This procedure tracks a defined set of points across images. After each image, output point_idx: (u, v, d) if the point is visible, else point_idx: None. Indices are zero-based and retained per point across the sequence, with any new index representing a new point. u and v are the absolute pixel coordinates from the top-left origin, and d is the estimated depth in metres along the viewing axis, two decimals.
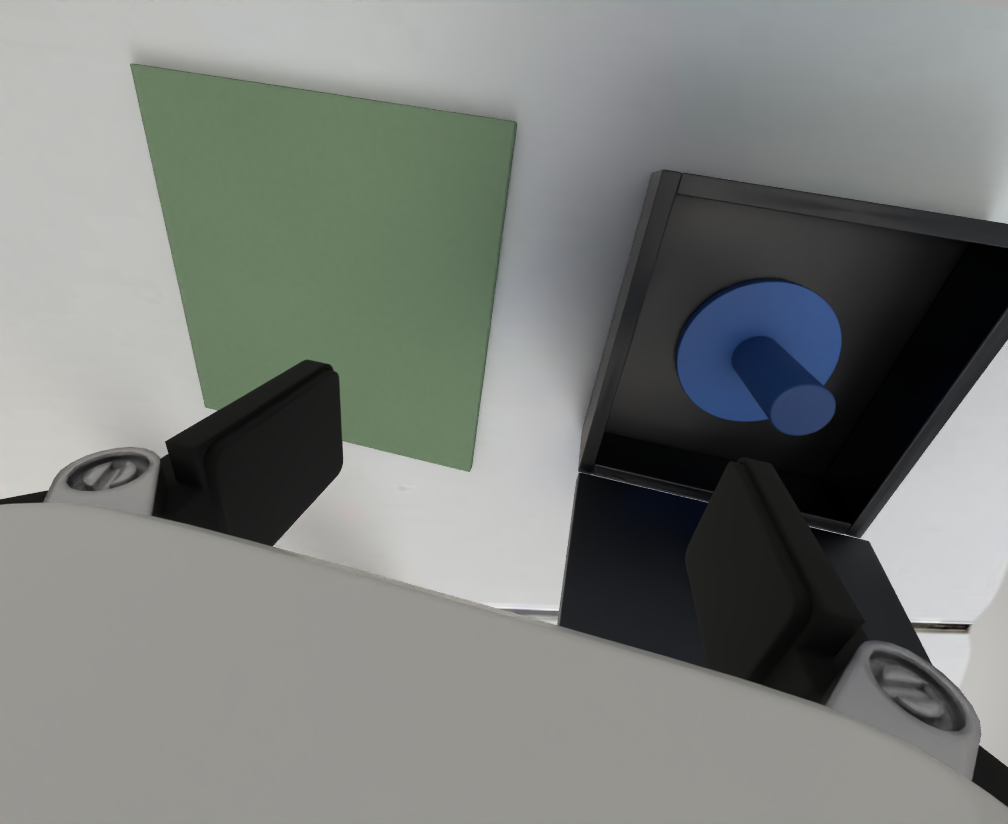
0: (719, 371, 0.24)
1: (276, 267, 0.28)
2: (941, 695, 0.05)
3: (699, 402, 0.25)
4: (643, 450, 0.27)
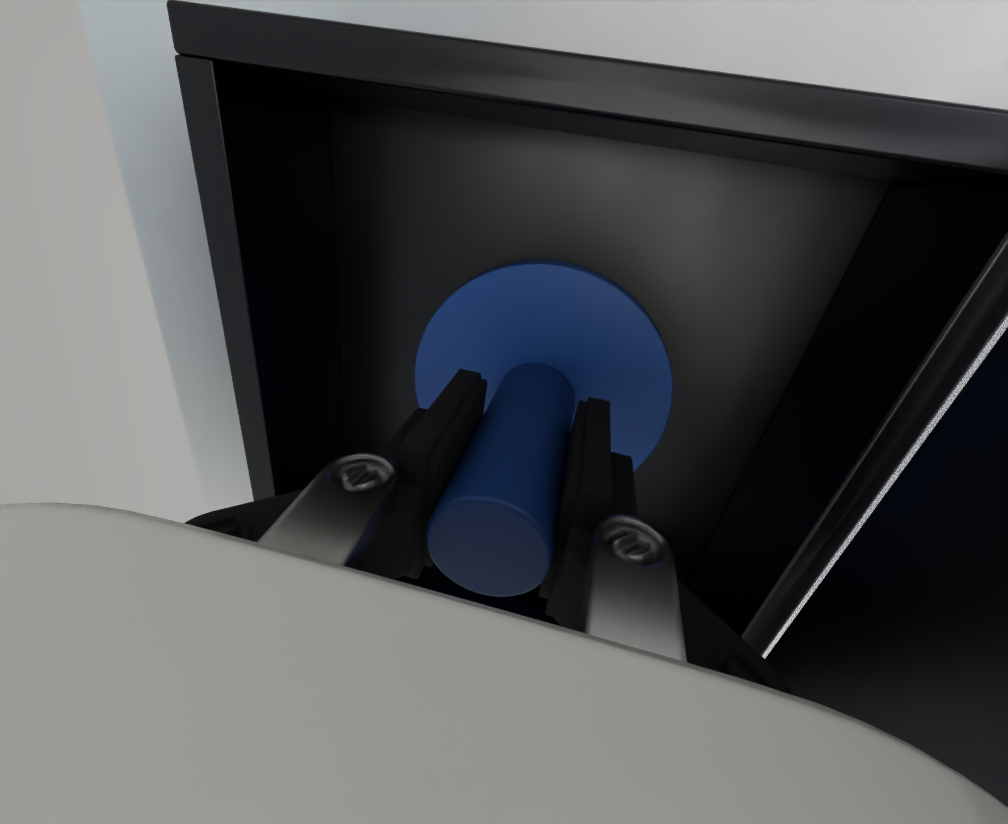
0: None
1: None
2: (647, 535, 0.07)
3: None
4: (721, 557, 0.14)
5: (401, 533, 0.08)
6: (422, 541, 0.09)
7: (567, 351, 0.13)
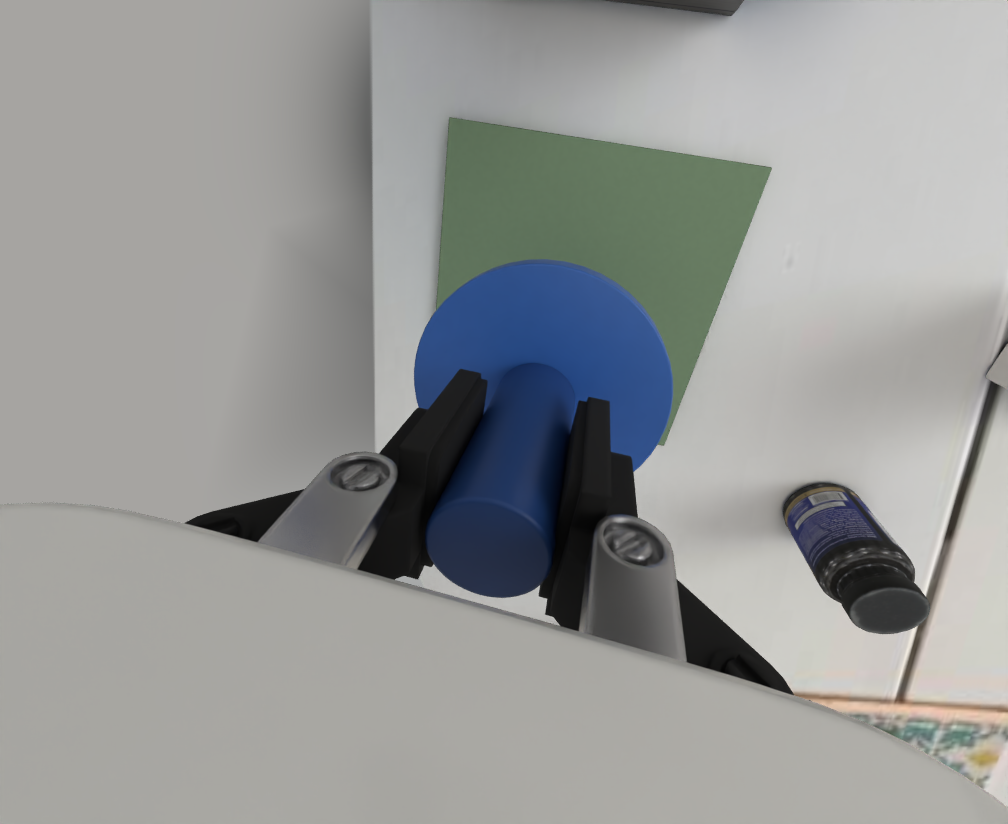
0: None
1: None
2: (647, 535, 0.07)
3: None
4: None
5: (401, 533, 0.08)
6: (422, 541, 0.09)
7: (567, 351, 0.13)
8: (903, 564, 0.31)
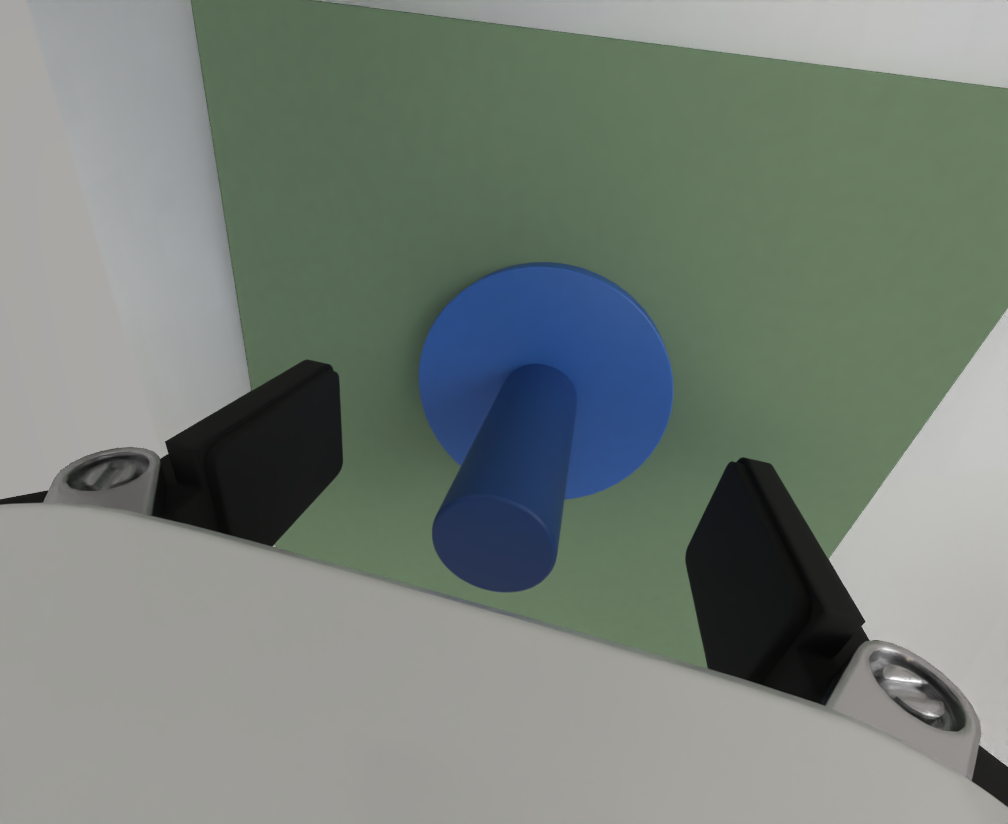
0: None
1: None
2: (942, 695, 0.05)
3: (625, 469, 0.14)
4: None
5: None
6: None
7: (569, 352, 0.13)
8: None
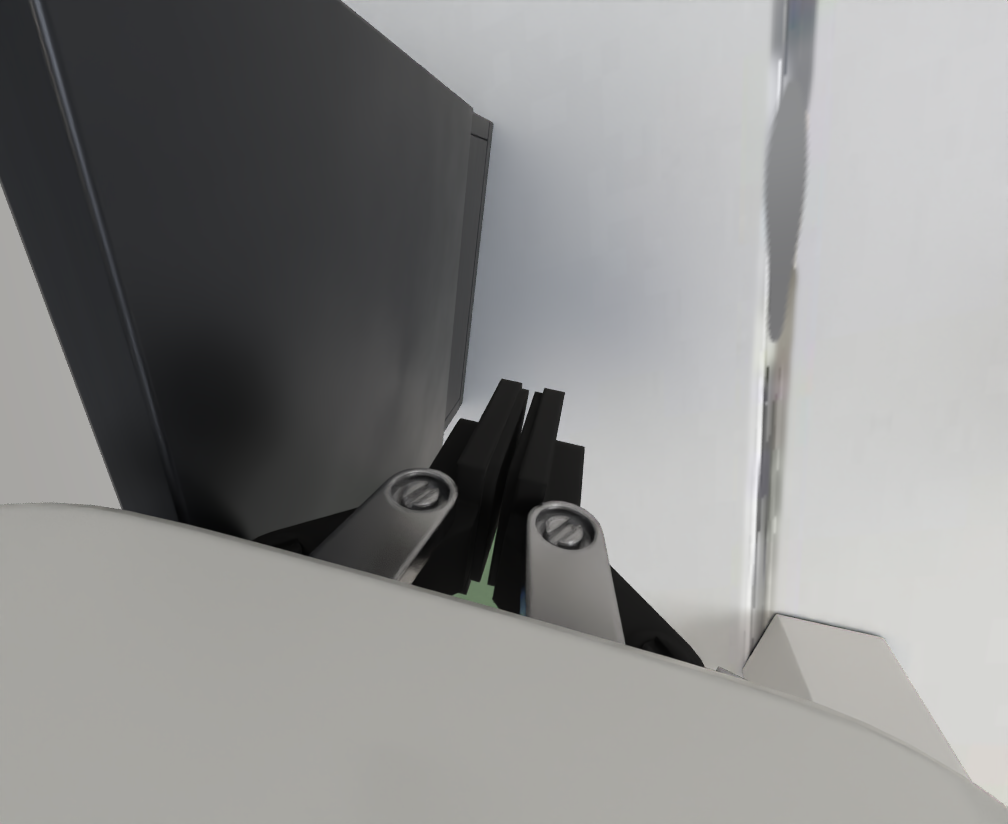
0: None
1: None
2: (577, 518, 0.07)
3: None
4: None
5: (459, 551, 0.07)
6: (473, 557, 0.09)
7: None
8: None
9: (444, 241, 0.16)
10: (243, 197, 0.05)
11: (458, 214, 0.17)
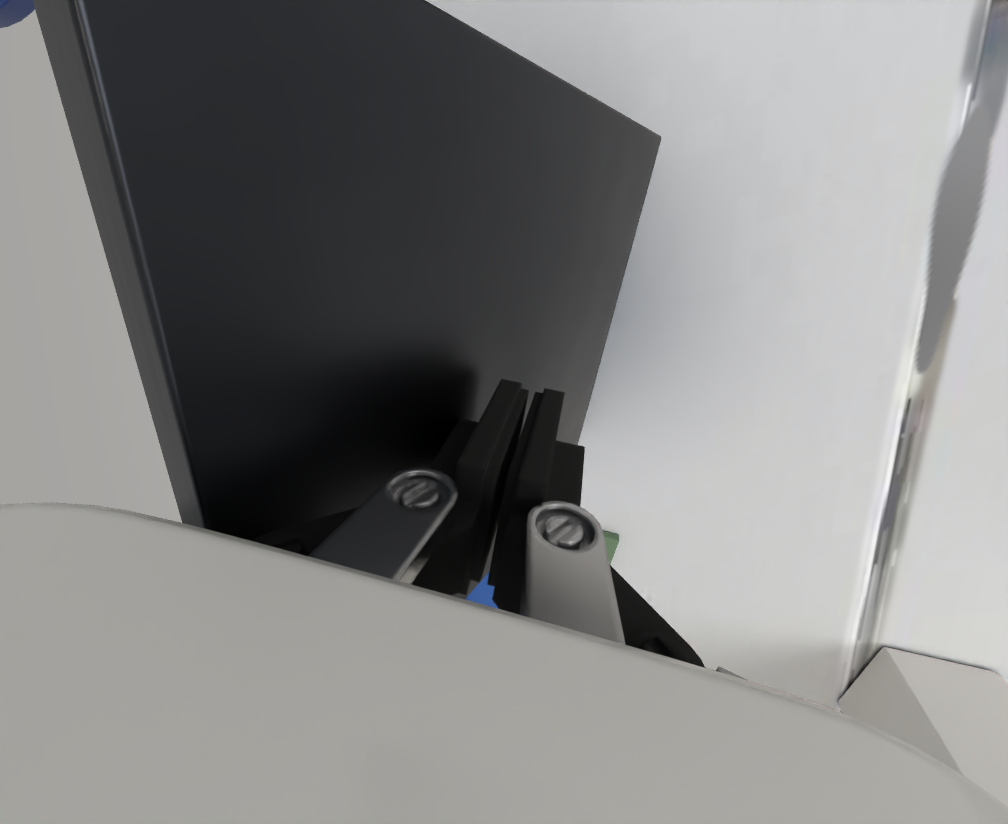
0: None
1: None
2: (577, 518, 0.07)
3: None
4: None
5: (459, 551, 0.07)
6: (473, 557, 0.09)
7: None
8: None
9: (596, 272, 0.15)
10: (305, 205, 0.05)
11: (623, 246, 0.16)
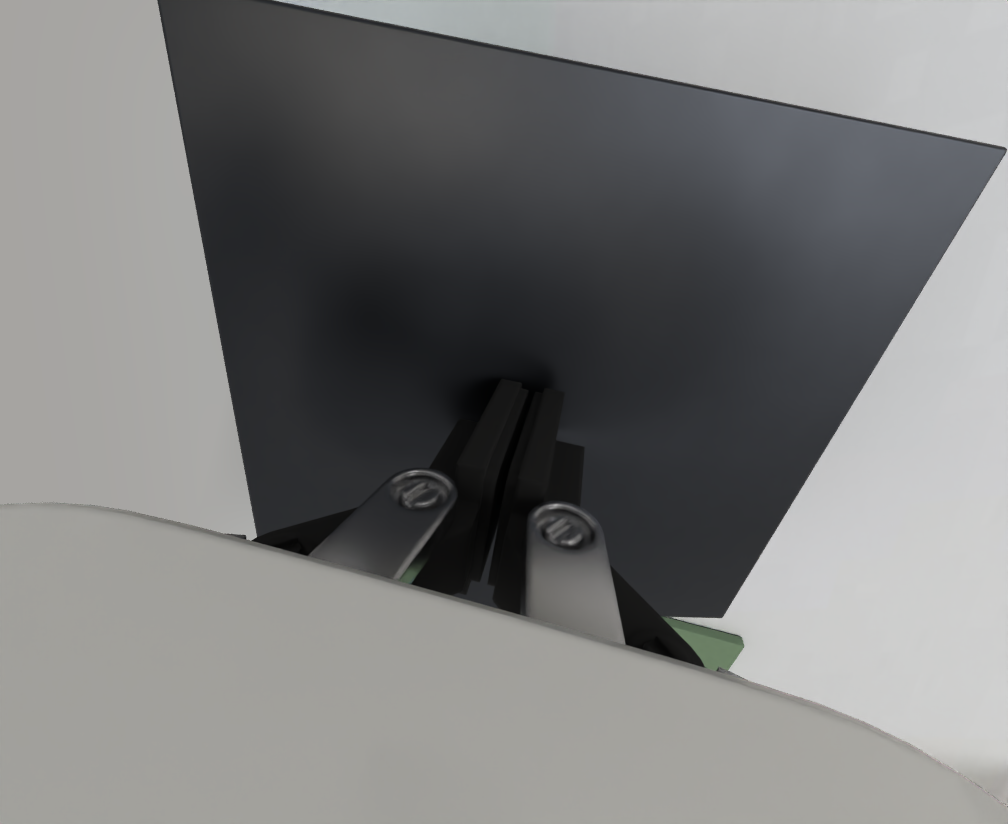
0: None
1: None
2: (578, 518, 0.07)
3: None
4: None
5: (459, 551, 0.07)
6: (473, 557, 0.09)
7: None
8: None
9: (768, 329, 0.11)
10: (288, 171, 0.08)
11: (863, 311, 0.11)
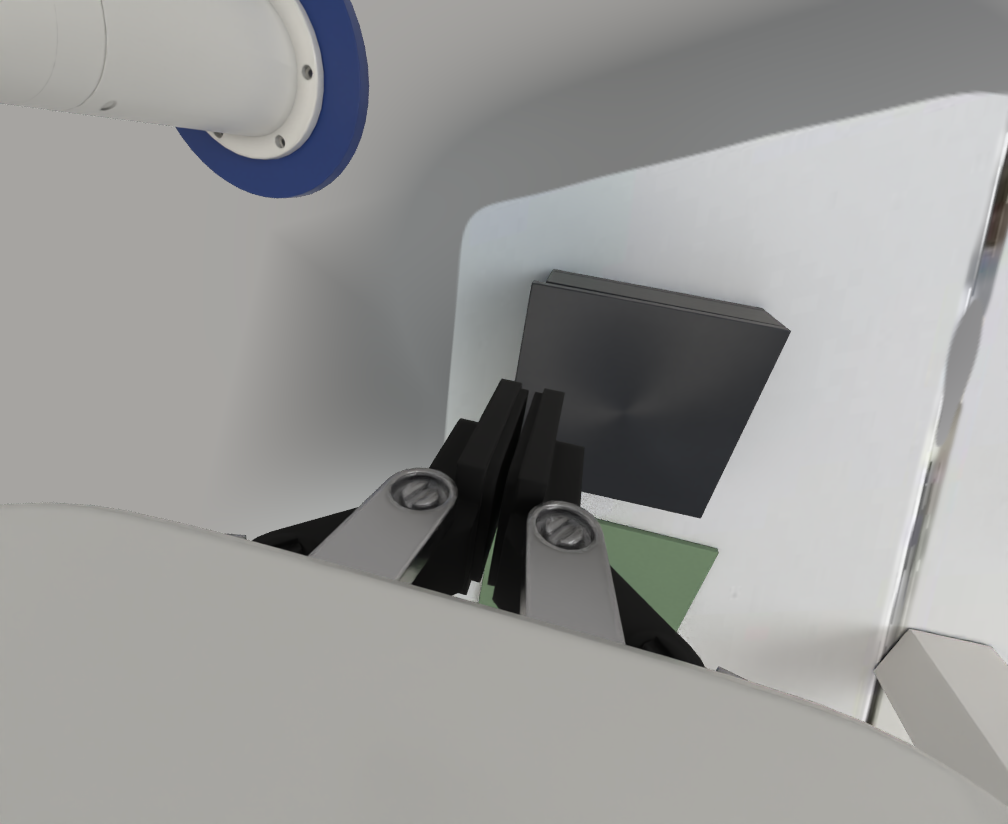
0: None
1: None
2: (577, 518, 0.07)
3: None
4: None
5: (459, 551, 0.07)
6: (473, 557, 0.09)
7: None
8: None
9: (708, 382, 0.29)
10: (552, 324, 0.29)
11: (746, 379, 0.29)
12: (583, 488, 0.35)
